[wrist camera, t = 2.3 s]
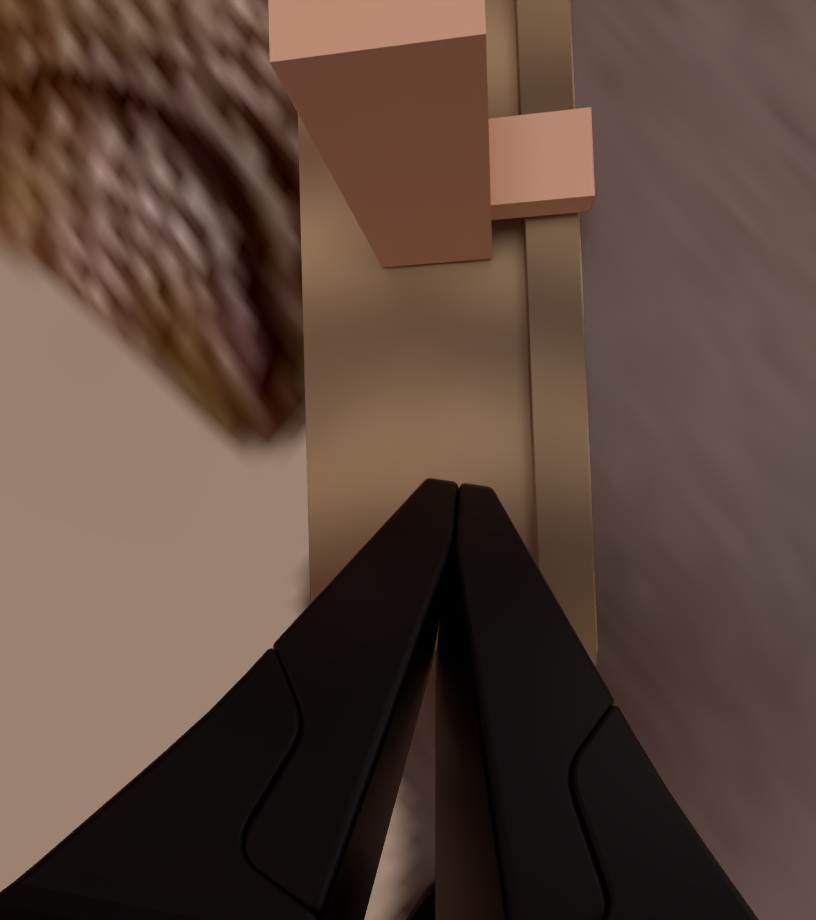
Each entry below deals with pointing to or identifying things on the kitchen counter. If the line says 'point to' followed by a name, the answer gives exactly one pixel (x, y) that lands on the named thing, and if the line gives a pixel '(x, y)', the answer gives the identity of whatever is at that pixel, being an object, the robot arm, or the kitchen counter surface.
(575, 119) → the block
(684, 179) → the kitchen counter surface
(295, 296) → the kitchen counter surface
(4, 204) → the kitchen counter surface
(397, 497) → the trammel board
